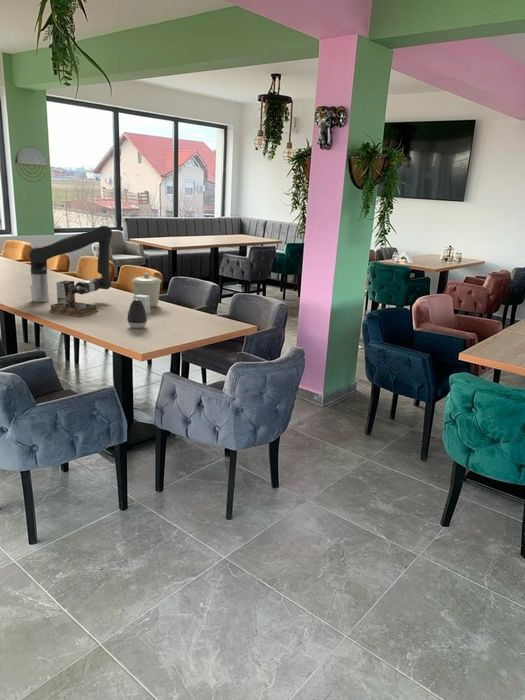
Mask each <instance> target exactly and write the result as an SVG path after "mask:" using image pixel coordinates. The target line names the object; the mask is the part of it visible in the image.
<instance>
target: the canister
mask: <svg viewBox="0 0 525 700" xmlns="http://www.w3.org/2000/svg"><path fill="white" fill-rule="evenodd" d="M131 282H132V287H133V296H135V295H138V294H139V295H148V296H150V309H151V308H156V307H157V306H158V305H159V300H160V289H161V283H162V279H160V278H158V277H156V276H150V273H149V272H144V273H143V275H142V276H136V277H134V278H133V279H131Z"/></svg>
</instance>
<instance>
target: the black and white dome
mask: <svg viewBox="0 0 525 700" xmlns="http://www.w3.org/2000/svg"><path fill="white" fill-rule="evenodd" d="M127 313H128V314H127V322H128V325H129V327H131V328H132V329H143V328H145V326H146V324H147V321H148V314H146V311H145V307H144V305H143V303H142V302H141V301H140V300H138V299H136V300H132V302H131V303H130V305H129V309H128V311H127Z"/></svg>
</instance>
